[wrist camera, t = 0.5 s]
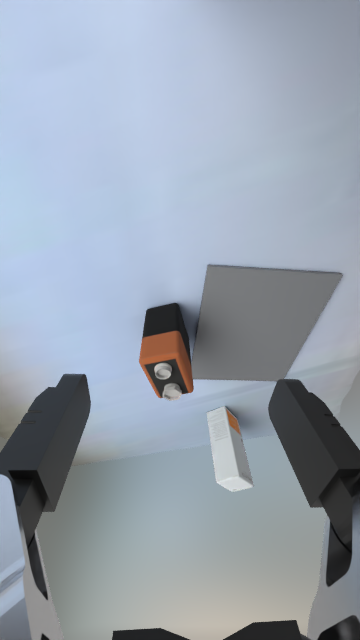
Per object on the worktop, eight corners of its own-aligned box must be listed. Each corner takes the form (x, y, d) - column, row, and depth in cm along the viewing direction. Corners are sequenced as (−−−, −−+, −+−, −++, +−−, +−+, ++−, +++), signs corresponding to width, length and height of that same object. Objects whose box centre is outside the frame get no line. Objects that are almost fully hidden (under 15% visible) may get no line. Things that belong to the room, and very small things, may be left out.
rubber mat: (207, 264, 26) (208, 266, 25) (340, 272, 27) (342, 274, 27) (189, 376, 38) (189, 379, 38) (281, 378, 39) (282, 381, 39)
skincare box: (238, 417, 47) (255, 487, 37) (219, 424, 48) (231, 492, 39) (224, 404, 44) (239, 476, 34) (205, 411, 45) (214, 483, 36)
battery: (160, 344, 33) (157, 407, 25) (145, 308, 29) (135, 369, 21) (189, 338, 33) (195, 400, 25) (177, 300, 29) (180, 360, 21)
